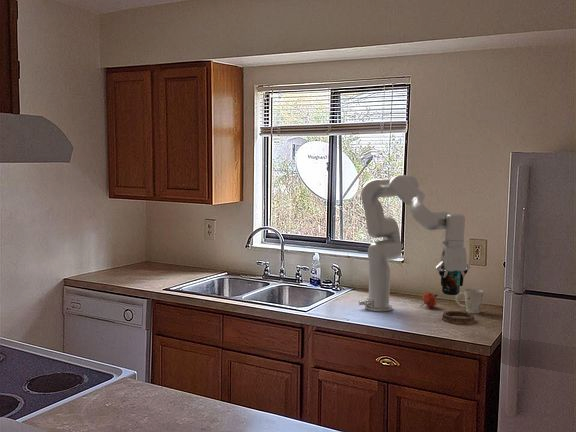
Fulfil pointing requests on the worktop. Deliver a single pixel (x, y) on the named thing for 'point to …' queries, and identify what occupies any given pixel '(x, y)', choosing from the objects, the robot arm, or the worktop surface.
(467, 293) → the mug
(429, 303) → the pomegranate
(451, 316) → the tray
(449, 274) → the beverage can
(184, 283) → the worktop surface
